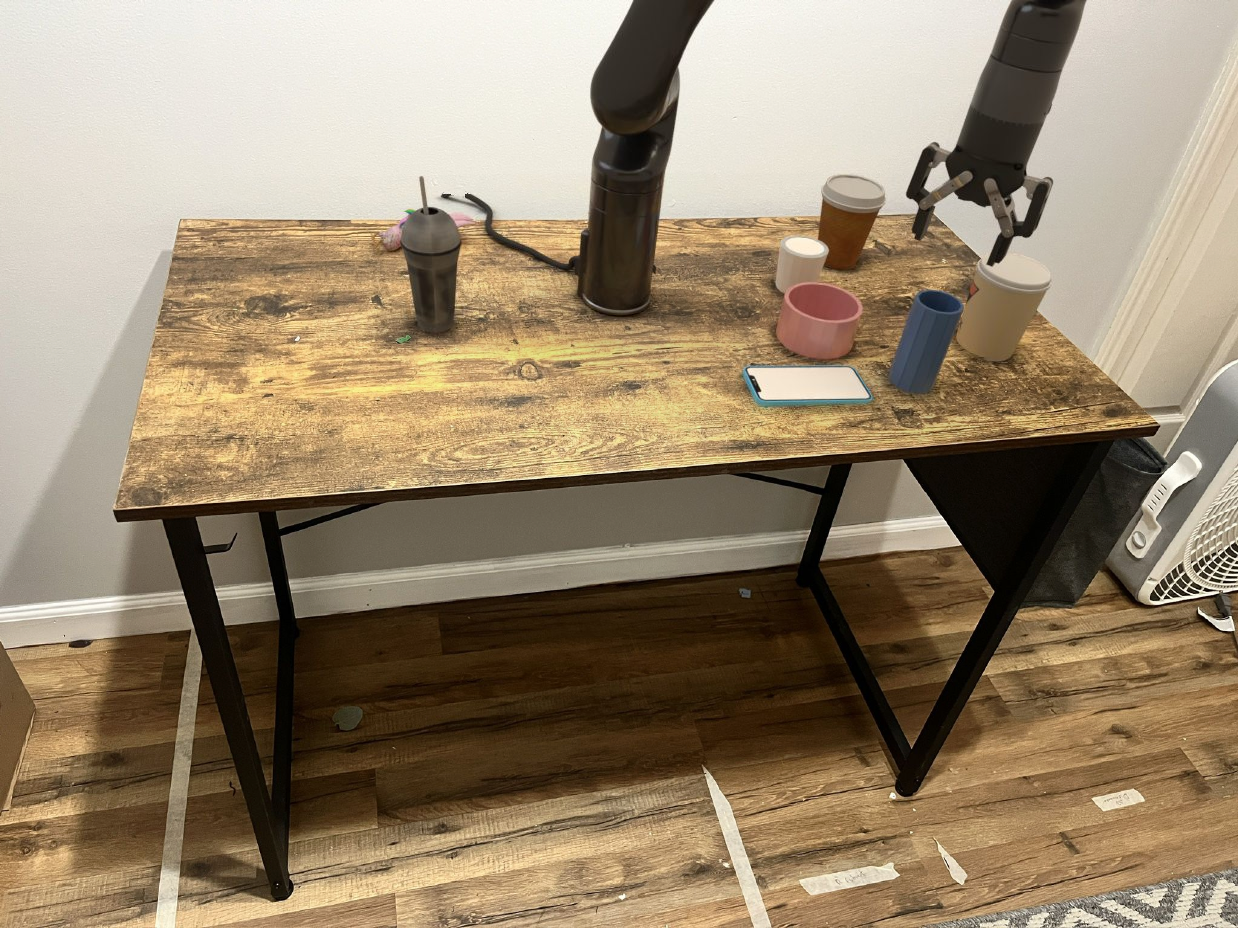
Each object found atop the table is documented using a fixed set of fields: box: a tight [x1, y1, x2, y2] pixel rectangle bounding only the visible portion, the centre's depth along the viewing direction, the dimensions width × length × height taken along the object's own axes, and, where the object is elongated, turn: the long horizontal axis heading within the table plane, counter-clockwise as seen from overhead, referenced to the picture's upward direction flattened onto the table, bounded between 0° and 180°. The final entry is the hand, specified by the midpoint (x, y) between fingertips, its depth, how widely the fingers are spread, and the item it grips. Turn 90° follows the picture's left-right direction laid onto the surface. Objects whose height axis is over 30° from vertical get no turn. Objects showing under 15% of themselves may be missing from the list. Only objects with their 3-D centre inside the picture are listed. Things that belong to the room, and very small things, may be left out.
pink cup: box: [775, 281, 864, 360], centre depth 117 cm, size 10×10×6 cm
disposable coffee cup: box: [817, 173, 887, 271], centre depth 134 cm, size 10×10×12 cm
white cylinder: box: [774, 234, 829, 294], centre depth 127 cm, size 7×7×7 cm
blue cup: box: [887, 288, 965, 395], centre depth 110 cm, size 6×6×12 cm
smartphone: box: [742, 364, 874, 408], centre depth 110 cm, size 8×1×15 cm
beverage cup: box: [400, 175, 463, 334], centre depth 108 cm, size 7×7×20 cm
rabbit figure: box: [370, 208, 476, 253], centre depth 129 cm, size 6×6×15 cm
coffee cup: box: [955, 251, 1053, 362], centre depth 118 cm, size 9×9×12 cm
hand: (954, 251), depth 102 cm, fingers open, 8 cm apart
